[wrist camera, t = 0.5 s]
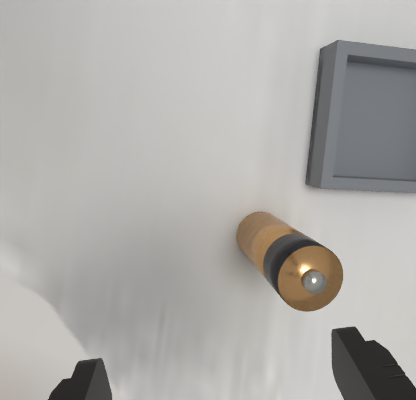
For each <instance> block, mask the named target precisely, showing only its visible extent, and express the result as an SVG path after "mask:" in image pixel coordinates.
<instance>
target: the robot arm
mask: <svg viewBox="0 0 416 400" xmlns="http://www.w3.org/2000/svg"><path fill="white" fill-rule="evenodd" d="M332 369H333V374H334V378H335V381H336V383H337V386H338V388H339V390H340V392H341V394H342V396H343V398H344V400H416V388H415V386H414V385H413V384H412V382H411V381H410V380H409V378H408V377H407V376H406V375H405V373H404V371H403V370H402V369H401V367H400V366H398V364H397V362H396V360H395V359H394V358H393V356H392V355H391V353H390V352H389V351H388V350H387V349H386V348H384V347H383V346H382V345H380V344H379V343H377V342H376V341H375V340H372V341H365V340H364V338H363V337H362V335H361V334H360V332H359V331H358V329H357V328H356V327H346V328H338V329H333V330H332ZM48 400H112V393H111V389H110V385H109V381H108V377H107V373H106V370H105V366H104V362H103V360H102V359H101V358H98V359H90V360H83V361H79V362H78V363H77V365H76V367H75V370H74V372H73V375H72V377H71V378H69V379H63V380H62V381H61V382H60V383H59V384H58V386H57V387H56V388H55V389H54V390H53V391H52V393H51V395H50V397H49V399H48Z"/></svg>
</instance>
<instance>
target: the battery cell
mask: <svg viewBox="0 0 416 400" xmlns="http://www.w3.org/2000/svg"><path fill="white" fill-rule="evenodd" d="M237 242H238V245H239V247H240V248H241V250H242V251H243V252H244V253H245V255H246V256H247V257H248V258H249V259H250V260H251V262H252V263H253V264H254V265H255V266H256V268H257V269H258V270H259V271H260V272H261V273H262V275H263V276H264V277H265V278H266V279H267V281H268V282H269V283H270V285H271V286H272V287H273V288H274V289H275V291H276V292H277V293H278V294H279V295H280V296H281V298H282V299H283V300H284V301H285V302H286V303H287V304H288V305H289V306H291V307H292V308H294V309H297V310H300V311H314V310H318V309H321V308H323V307H324V306H326V305H328V304H329V303H330V302H331V301H332V300H333V299H334V298H335V297H336V295H337V294H338V292H339V290H340V288H341V285H342V281H343V269H342V265H341V263H340V261H339V259H338V258H337V256H336V255H335V254H334V253H333V252H332V251H331V250H329V249H327V248H326V247H324V246H322V245H321V244H319V243H318V242H316V241H314V240H313V239H311V238H309V237H308V236H306V235H304V234H302V233H301V232H299V231H297V230H296V229H294V228H293V227H291V226H289V225H288V224H286V223H284V222H283V221H281V220H280V219H278V218H276V217H275V216H273V215H271V214H269V213H266V212H255V213H252V214H250V215H248V216H247V217H246V218H245V219H244V220H243V221H242V222H241V223H240V225H239V227H238V230H237Z"/></svg>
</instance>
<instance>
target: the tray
mask: <svg viewBox="0 0 416 400" xmlns="http://www.w3.org/2000/svg"><path fill="white" fill-rule="evenodd" d="M306 184H307V185H311V186H314V187H318V188H325V189H346V190H366V191H386V192H406V193H416V50H413V49H406V48H398V47H390V46H382V45H374V44H366V43H358V42H350V41H342V40H337V41H335V42H333V43H331V44H329V45H327V46H325V47H323V48H321V49H320V58H319V67H318V76H317V85H316V94H315V103H314V113H313V122H312V131H311V140H310V149H309V158H308V167H307V176H306Z"/></svg>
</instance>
